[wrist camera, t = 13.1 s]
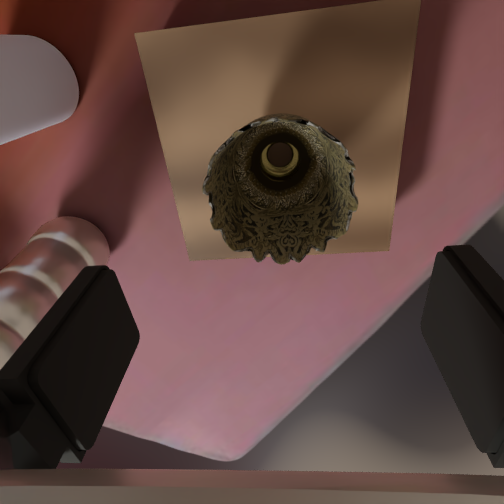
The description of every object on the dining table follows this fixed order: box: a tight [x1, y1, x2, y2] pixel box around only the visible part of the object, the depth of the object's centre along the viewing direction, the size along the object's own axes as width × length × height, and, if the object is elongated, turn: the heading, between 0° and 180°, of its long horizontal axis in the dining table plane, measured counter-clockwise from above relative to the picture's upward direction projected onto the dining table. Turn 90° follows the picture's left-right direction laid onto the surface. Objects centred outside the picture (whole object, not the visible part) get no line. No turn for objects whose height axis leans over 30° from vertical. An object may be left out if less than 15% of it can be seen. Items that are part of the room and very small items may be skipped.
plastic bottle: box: [0, 216, 110, 370], centre depth 25 cm, size 6×7×20 cm
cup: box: [202, 113, 358, 264], centre depth 19 cm, size 8×7×8 cm
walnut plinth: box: [134, 0, 421, 261], centre depth 25 cm, size 16×16×5 cm
